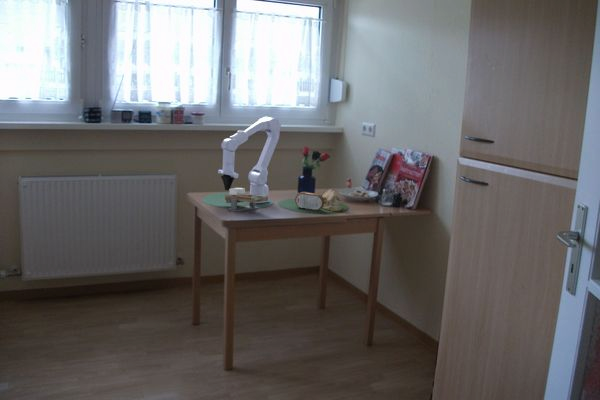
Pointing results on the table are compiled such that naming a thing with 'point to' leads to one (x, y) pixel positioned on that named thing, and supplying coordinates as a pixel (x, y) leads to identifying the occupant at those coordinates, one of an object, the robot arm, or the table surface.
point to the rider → (237, 192)
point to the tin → (309, 201)
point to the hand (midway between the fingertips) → (227, 189)
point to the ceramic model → (331, 201)
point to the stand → (235, 208)
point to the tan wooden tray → (247, 198)
